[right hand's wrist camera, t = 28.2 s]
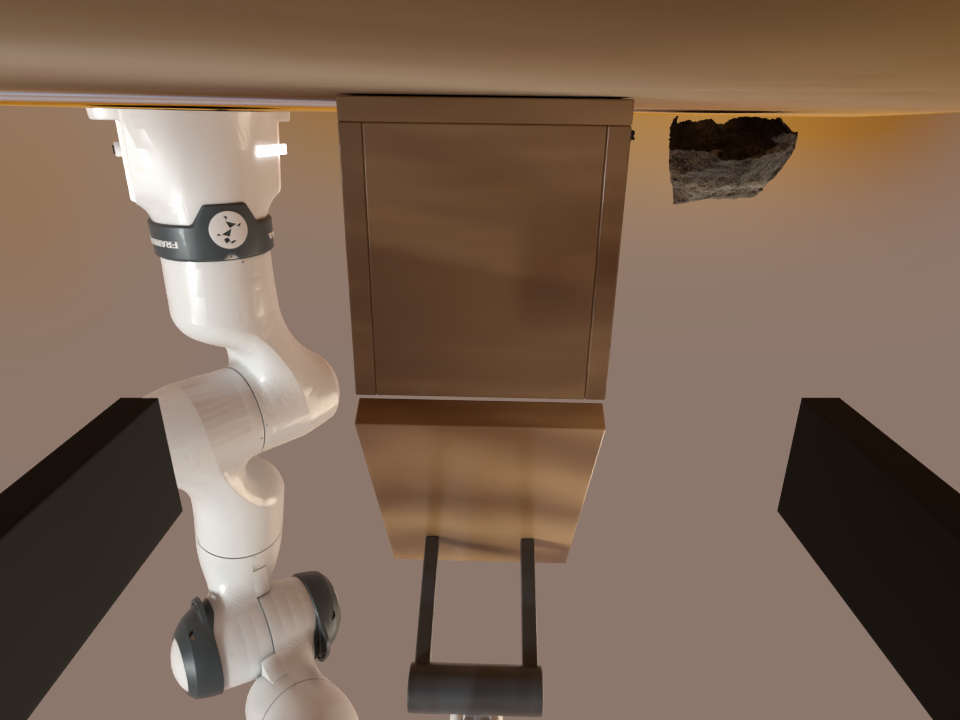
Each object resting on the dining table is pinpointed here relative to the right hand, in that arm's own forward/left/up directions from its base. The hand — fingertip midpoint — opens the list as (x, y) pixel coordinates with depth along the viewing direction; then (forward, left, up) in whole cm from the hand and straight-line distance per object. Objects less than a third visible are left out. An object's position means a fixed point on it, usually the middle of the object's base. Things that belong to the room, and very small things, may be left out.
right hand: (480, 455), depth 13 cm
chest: (+15, +8, -7) cm, 18 cm away
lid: (+13, +7, +10) cm, 17 cm away
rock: (+26, +34, -7) cm, 43 cm away
